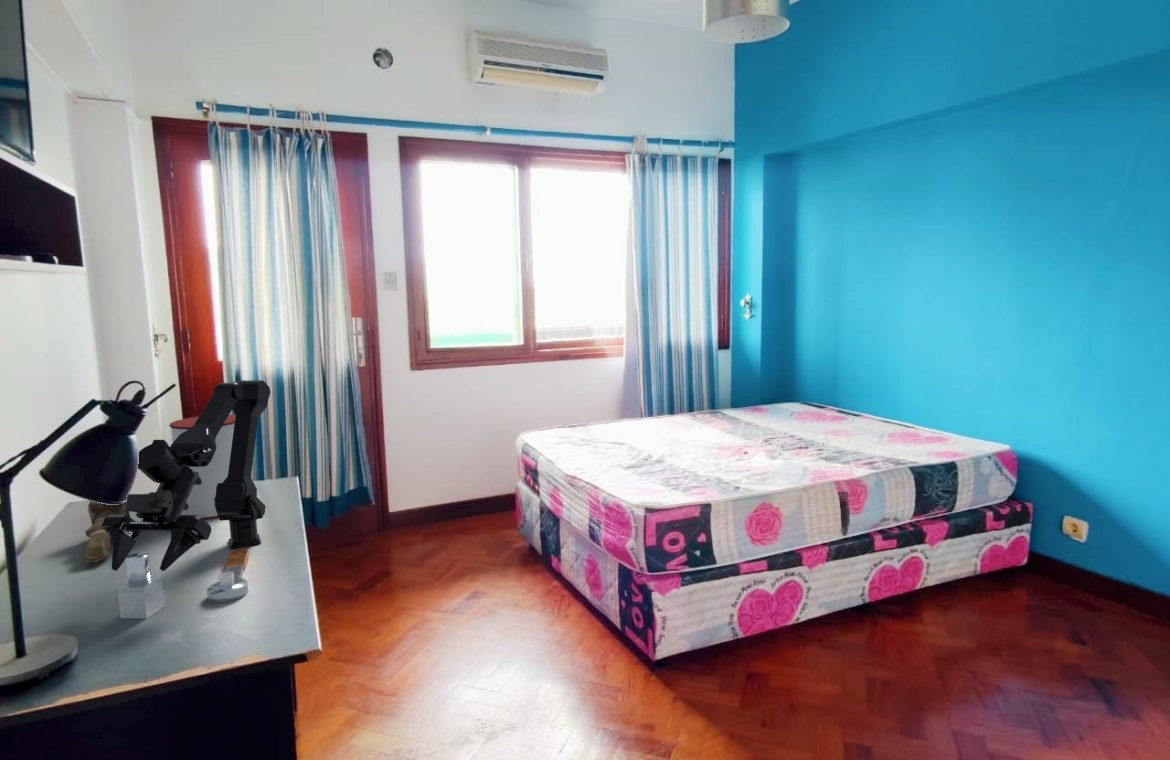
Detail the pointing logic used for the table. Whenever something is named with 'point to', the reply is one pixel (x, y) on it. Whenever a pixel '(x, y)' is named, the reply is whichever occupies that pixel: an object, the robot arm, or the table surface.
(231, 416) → the container
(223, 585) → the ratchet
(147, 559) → the clear square perfume bottle
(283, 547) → the table surface
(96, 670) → the table surface
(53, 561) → the table surface
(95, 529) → the brown boot
